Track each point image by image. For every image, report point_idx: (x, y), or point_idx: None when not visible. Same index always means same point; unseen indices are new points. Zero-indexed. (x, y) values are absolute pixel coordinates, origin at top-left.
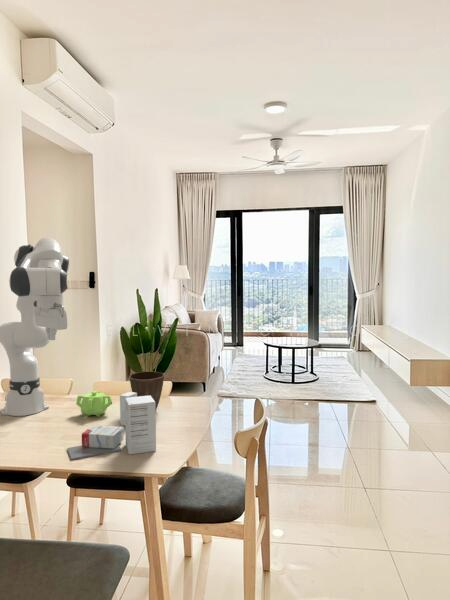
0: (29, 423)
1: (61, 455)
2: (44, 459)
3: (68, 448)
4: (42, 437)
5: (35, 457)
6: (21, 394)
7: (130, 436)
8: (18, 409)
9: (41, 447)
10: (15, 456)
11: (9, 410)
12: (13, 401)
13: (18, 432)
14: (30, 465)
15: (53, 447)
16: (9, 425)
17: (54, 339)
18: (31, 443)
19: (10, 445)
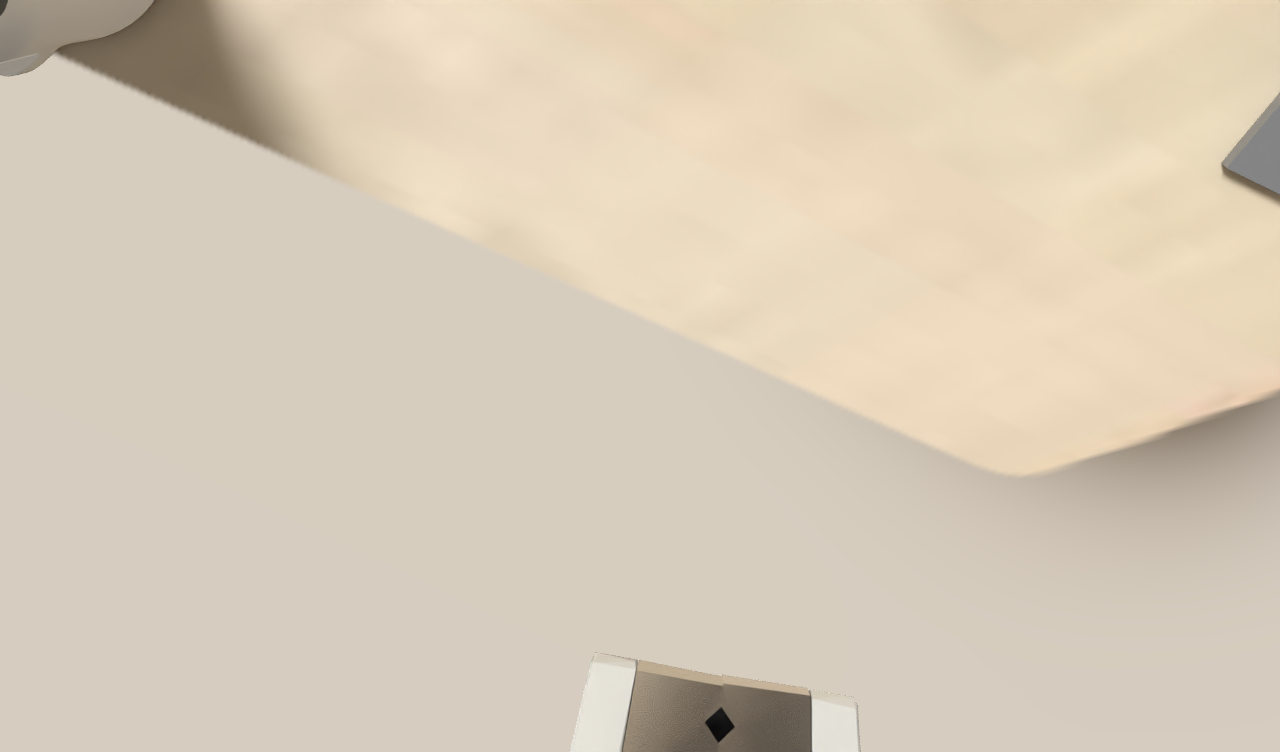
0: (409, 31)
1: (1258, 244)
2: (1189, 339)
3: (1245, 168)
4: (815, 139)
5: (1102, 353)
6: (3, 6)
7: None
8: (105, 4)
9: (990, 247)
10: (965, 407)
11: (51, 46)
12: (10, 42)
13: (560, 194)
14: (1175, 425)
15: (1076, 198)
16: (350, 158)
17: (850, 714)
18: (855, 249)
19: (764, 342)
